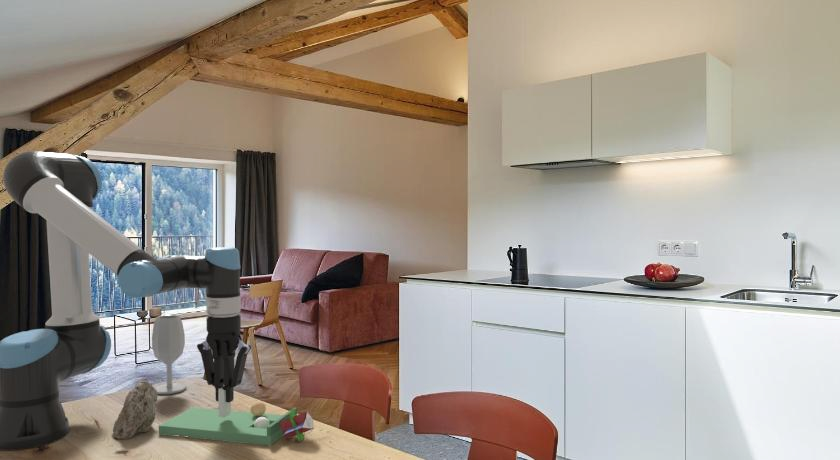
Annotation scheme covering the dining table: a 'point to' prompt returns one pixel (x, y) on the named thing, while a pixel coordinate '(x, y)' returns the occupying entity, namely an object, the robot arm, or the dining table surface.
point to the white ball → (261, 423)
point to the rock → (136, 411)
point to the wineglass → (168, 348)
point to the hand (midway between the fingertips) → (224, 415)
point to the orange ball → (258, 408)
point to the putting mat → (225, 426)
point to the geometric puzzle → (297, 425)
